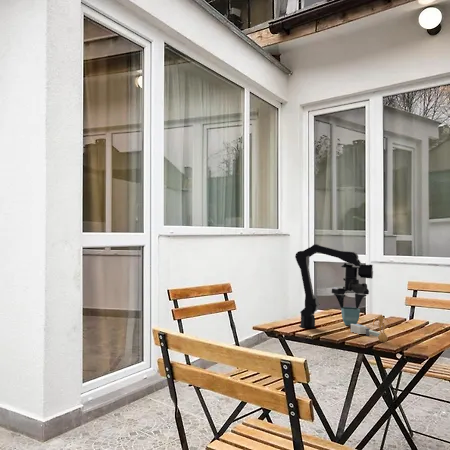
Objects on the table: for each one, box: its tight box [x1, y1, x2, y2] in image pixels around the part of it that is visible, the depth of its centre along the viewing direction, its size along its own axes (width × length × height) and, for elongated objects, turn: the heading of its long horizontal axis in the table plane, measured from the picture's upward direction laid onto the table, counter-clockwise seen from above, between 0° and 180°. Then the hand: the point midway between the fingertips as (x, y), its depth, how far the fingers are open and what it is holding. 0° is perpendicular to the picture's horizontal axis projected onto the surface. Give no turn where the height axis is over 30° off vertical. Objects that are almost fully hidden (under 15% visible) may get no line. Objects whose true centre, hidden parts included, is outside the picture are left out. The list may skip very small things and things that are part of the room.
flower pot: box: [340, 306, 361, 326], centre depth 251 cm, size 9×9×9 cm
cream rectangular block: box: [350, 323, 368, 335], centre depth 229 cm, size 7×4×4 cm, turn 25°
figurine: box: [372, 314, 391, 343], centre depth 211 cm, size 8×6×12 cm
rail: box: [349, 324, 380, 338], centre depth 230 cm, size 6×20×3 cm, turn 23°
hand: (349, 308), depth 233 cm, fingers open, 9 cm apart
